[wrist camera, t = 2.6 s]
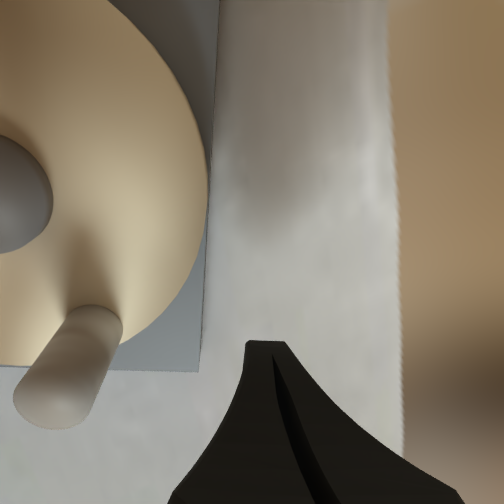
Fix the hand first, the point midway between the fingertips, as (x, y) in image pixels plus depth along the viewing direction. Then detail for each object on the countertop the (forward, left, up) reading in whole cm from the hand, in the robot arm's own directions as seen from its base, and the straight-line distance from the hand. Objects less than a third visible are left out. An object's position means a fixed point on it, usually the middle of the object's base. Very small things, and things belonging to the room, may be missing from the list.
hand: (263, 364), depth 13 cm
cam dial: (-9, +5, -3) cm, 11 cm away
